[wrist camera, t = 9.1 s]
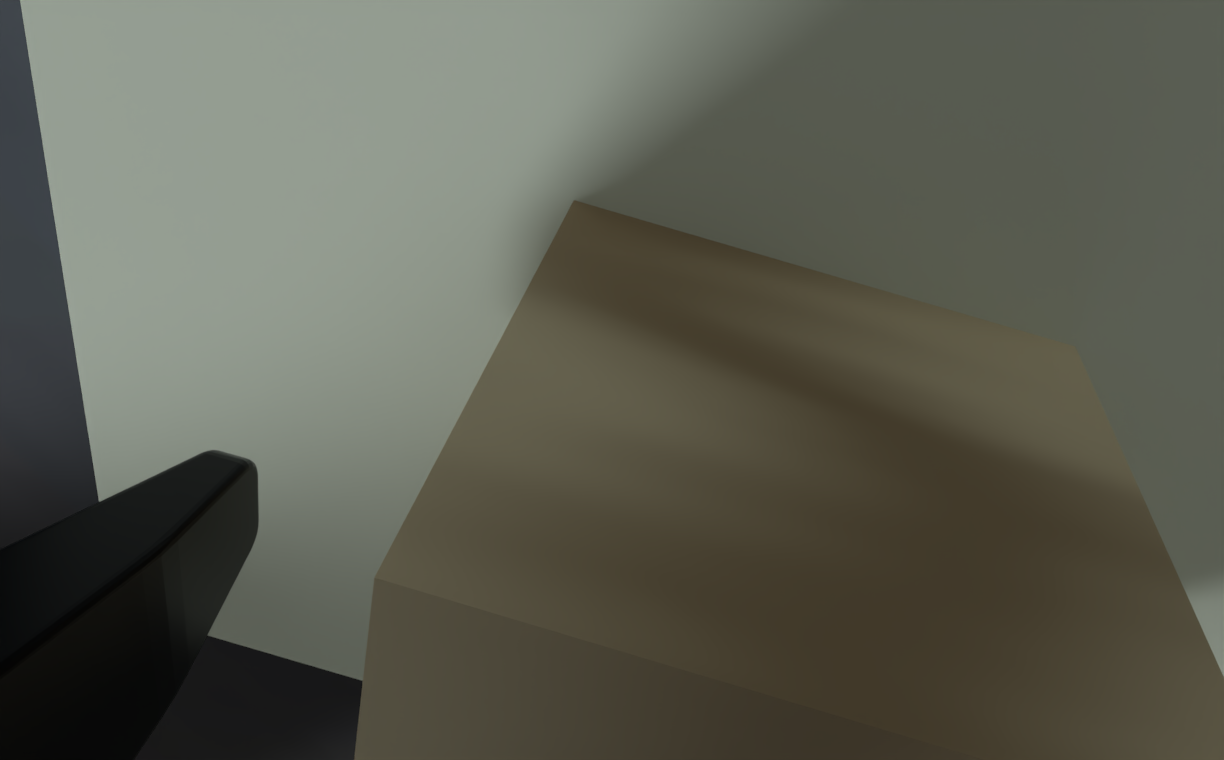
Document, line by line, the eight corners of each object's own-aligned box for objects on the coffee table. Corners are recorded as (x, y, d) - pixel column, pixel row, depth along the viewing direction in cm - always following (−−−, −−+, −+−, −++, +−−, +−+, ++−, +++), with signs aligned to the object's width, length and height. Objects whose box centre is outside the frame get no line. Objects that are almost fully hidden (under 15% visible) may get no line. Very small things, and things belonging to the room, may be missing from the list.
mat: (139, 580, 14) (115, 609, 14) (12, -402, 7) (-45, -413, 7) (1135, 869, 14) (1147, 910, 14) (1973, 126, 7) (2059, 153, 7)
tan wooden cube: (496, 551, 12) (330, 972, 8) (574, 200, 9) (373, 577, 5) (873, 663, 12) (906, 1148, 8) (1075, 346, 9) (1304, 856, 5)
